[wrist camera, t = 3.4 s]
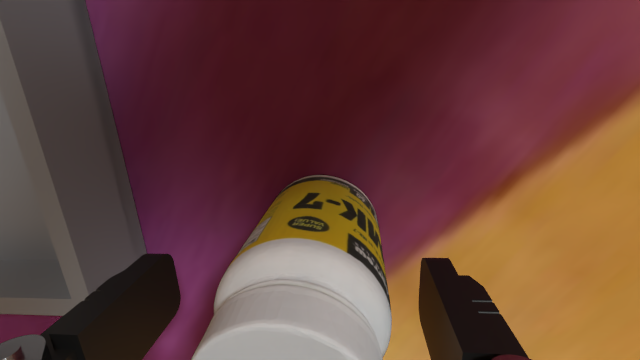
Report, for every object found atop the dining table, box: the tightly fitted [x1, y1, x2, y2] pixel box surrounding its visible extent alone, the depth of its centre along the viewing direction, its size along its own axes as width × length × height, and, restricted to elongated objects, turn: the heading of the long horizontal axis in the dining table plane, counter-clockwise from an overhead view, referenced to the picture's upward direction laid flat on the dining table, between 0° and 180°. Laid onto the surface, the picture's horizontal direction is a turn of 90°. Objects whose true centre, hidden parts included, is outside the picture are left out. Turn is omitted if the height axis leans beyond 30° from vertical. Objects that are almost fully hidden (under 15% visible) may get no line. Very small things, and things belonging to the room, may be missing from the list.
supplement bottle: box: [191, 175, 392, 360], centre depth 10 cm, size 5×5×8 cm
